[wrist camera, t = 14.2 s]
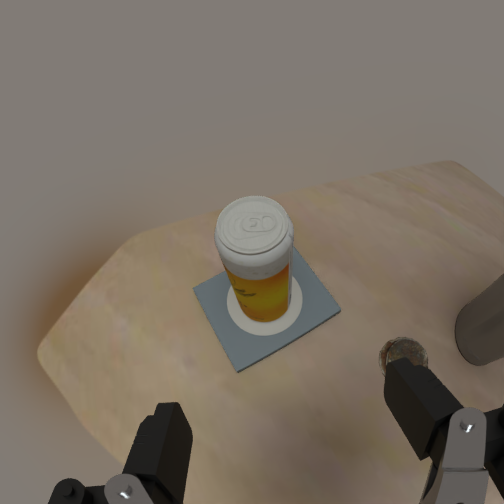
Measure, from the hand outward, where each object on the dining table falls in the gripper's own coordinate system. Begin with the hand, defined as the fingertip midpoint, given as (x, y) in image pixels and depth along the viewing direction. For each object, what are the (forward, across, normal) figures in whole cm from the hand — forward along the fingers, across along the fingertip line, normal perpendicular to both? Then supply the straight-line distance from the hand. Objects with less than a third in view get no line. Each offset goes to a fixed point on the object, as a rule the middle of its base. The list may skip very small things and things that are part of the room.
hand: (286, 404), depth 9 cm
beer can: (+24, 0, +6) cm, 24 cm away
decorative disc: (+17, -15, +15) cm, 27 cm away
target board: (+24, 0, +6) cm, 25 cm away
